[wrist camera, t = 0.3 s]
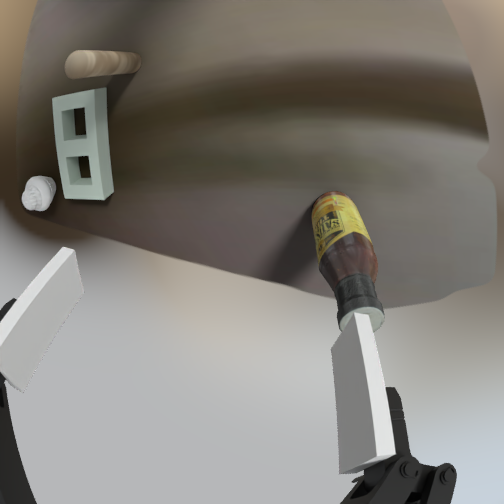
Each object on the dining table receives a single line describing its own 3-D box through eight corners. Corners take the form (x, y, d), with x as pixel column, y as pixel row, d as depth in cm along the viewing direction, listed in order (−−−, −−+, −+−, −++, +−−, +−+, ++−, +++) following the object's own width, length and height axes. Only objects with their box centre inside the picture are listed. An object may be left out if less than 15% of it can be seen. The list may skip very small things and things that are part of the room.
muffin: (40, 197, 41) (16, 216, 35) (38, 166, 37) (11, 183, 31) (63, 204, 41) (39, 224, 35) (61, 171, 38) (35, 189, 32)
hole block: (64, 95, 30) (52, 98, 28) (106, 87, 30) (94, 89, 28) (75, 190, 39) (64, 198, 37) (114, 191, 39) (104, 200, 37)
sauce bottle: (320, 182, 36) (351, 281, 20) (361, 198, 36) (415, 299, 20) (302, 224, 40) (314, 337, 23) (342, 237, 40) (373, 349, 24)
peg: (122, 54, 27) (65, 54, 18) (142, 51, 27) (87, 47, 17) (121, 74, 29) (64, 81, 19) (141, 72, 29) (87, 76, 19)
